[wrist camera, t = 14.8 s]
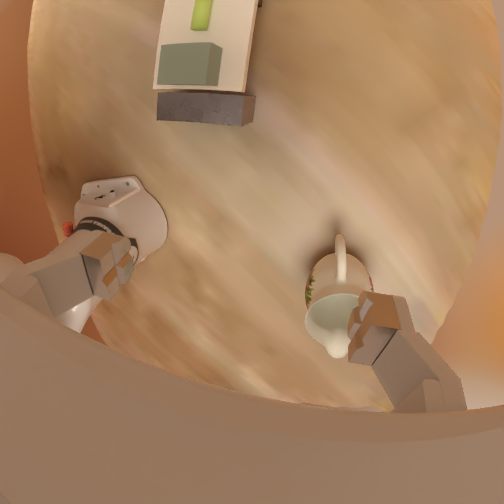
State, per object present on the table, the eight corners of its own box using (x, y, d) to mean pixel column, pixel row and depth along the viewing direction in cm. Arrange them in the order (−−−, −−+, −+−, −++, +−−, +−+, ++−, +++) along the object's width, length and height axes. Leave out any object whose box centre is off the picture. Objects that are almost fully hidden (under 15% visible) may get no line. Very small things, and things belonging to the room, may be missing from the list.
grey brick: (179, 115, 39) (156, 120, 33) (196, -21, 25) (177, -35, 19) (252, 121, 37) (240, 126, 32) (272, -23, 24) (264, -42, 18)
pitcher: (370, 215, 41) (388, 264, 30) (364, 301, 50) (370, 357, 39) (303, 218, 44) (297, 266, 33) (309, 302, 53) (303, 358, 41)
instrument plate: (244, 92, 29) (203, 86, 18) (158, 89, 30) (89, 92, 19) (265, -38, 19) (237, -91, 7) (178, -31, 20) (123, -66, 9)
